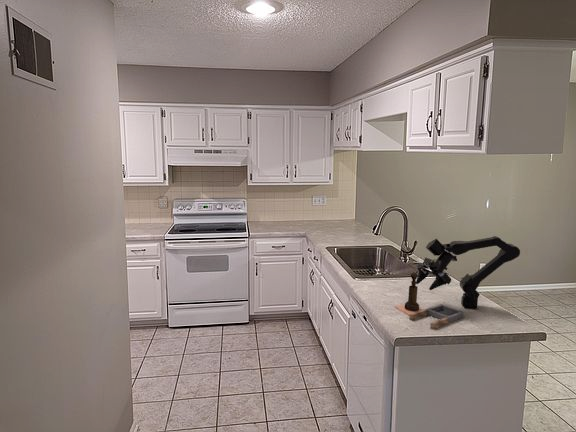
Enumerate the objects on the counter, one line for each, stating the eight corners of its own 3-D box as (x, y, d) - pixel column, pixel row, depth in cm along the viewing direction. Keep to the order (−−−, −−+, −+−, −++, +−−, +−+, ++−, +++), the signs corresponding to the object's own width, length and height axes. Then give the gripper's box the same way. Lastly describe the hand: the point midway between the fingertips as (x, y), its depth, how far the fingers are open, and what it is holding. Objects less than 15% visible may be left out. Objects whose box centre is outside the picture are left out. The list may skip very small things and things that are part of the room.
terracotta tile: (412, 304, 207) (412, 303, 207) (428, 312, 197) (428, 311, 197) (394, 307, 203) (394, 306, 203) (409, 315, 193) (409, 314, 193)
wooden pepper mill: (416, 306, 203) (419, 270, 200) (420, 311, 197) (423, 274, 194) (402, 306, 203) (405, 270, 200) (407, 311, 196) (409, 274, 193)
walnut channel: (424, 314, 195) (424, 309, 195) (447, 323, 185) (448, 318, 185) (409, 319, 189) (409, 314, 188) (432, 329, 179) (433, 323, 178)
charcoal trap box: (441, 308, 202) (441, 303, 202) (463, 317, 192) (464, 312, 192) (425, 314, 195) (425, 309, 195) (448, 323, 186) (448, 317, 185)
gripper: (420, 247, 208) (401, 271, 206) (448, 256, 191) (428, 282, 189) (431, 261, 213) (413, 284, 210) (460, 271, 196) (440, 296, 193)
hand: (422, 286), depth 200 cm, fingers open, 9 cm apart
